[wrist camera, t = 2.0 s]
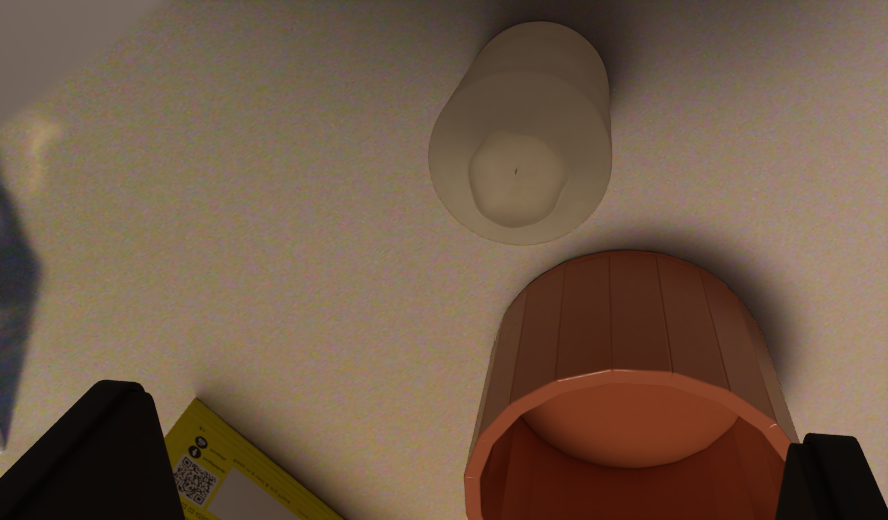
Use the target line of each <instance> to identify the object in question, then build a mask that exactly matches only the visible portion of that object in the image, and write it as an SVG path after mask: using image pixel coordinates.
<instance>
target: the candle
mask: <svg viewBox="0 0 888 520" xmlns="http://www.w3.org/2000/svg"><path fill="white" fill-rule="evenodd" d="M428 158H429V169H430V174H431V179H432V182H433V185H434V187H435V190H436V192H437V194H438V196H439V198H440V200H441V201H442V203H443V204H444V206H445V207H446V209H447V210H448V211H449V212H450V213H451V214H452V216H453V217H454V218H455V219H456V220H458V221H459V222H460V223H461V224H462V225H463V226H465V227H466V228H468V229H469V230H471V231H472V232H474V233H476V234H478V235H480V236H482V237H484V238H487V239H489V240H492V241H495V242H499V243H503V244H510V245H533V244H540V243H544V242H549V241H552V240H554V239H557V238H560V237H562V236H564V235H566V234H568V233H570V232H571V231H573V230H574V229H576V228H577V227H579V226H580V225H581V224H582V223H583V222H584V221H585V220H587V219H588V217H589V216H590V215H591V214H592V213H593V212H594V211H595V209H596V208H597V206H598V205H599V203H600V202H601V200H602V198H603V196H604V194H605V192H606V189H607V186H608V183H609V180H610V175H611V169H612V142H611V119H610V97H609V85H608V77H607V73H606V69H605V67H604V64H603V62H602V60H601V58H600V56H599V54H598V52H597V51H596V50H595V48H594V47H593V46H592V45H591V44H590V43H589V42H588V41H587V40H586V39H585V38H584V37H583V36H581V35H580V34H579V33H577V32H576V31H574V30H572V29H570V28H568V27H566V26H563V25H561V24H557V23H552V22H544V21H536V22H527V23H522V24H519V25H515V26H513V27H511V28H508V29H506V30H504V31H503V32H501V33H500V34H498V35H497V36H495V37H494V38H493V39H492V40H491V41H490V42H489V43H488V44H487V45H486V46H485V47H484V48H483V50H482V51H481V52H480V54H479V55H478V56H477V58H476V59H475V61H474V62H473V64H472V65H471V67H470V68H469V70H468V72H467V73H466V75H465V76H464V78H463V79H462V81H461V82H460V84H459V85H458V87H457V88H456V90H455V92H454V93H453V95H452V96H451V98H450V99H449V101H448V102H447V104H446V105H445V107H444V108H443V110H442V112H441V113H440V115H439V117H438V119H437V121H436V123H435V125H434V128H433V131H432V134H431V139H430V144H429V155H428Z"/></svg>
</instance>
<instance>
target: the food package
mask: <svg viewBox="0 0 888 520" xmlns="http://www.w3.org/2000/svg"><path fill="white" fill-rule="evenodd" d="M164 441H165V444H166V448H167V452H168V455H169V459H170V463H171V467H172V470H173V474H174V478H175V482H176V485H177V489H178V493H179V496H180V500H181V504H182V508H183V511H184V515H185V520H344V519H343V518H342V517H340V516H339V515H338V514H337V513H335V512H334V511H333V510H332V509H330V508H329V507H328V506H327V505H326V504H324V503H323V502H322V501H321V500H319V499H318V498H317V497H316V496H314V495H313V494H312V493H311V492H310V491H308V490H307V489H306V488H305V487H303V486H302V485H301V484H300V483H299V482H297V481H296V480H295V479H294V478H292V477H291V476H290V475H289V474H288V473H286V472H285V471H284V470H283V469H281V468H280V467H279V466H278V465H277V464H275V463H274V462H273V461H272V460H270V459H269V458H268V457H267V456H265V455H264V454H263V453H262V452H261V451H259V450H258V449H257V448H256V447H254V446H253V445H252V444H251V443H250V442H248V441H247V440H246V439H245V438H243V437H242V436H241V435H240V434H238V433H237V432H236V431H235V430H234V429H232V428H231V427H230V426H229V425H227V424H226V423H225V422H224V421H223V420H221V419H220V418H219V417H218V416H217V415H216V414H215V413H213V412H212V411H211V410H210V409H209V408H207V407H206V406H205V405H204V404H203V403H201V402H200V401H198V400H197V399H196V398H195V399H194V400H193V401H192V402H191V404H190V405H189V406H188V407H187V409H186V410H185V411H184V413H183V414H182V415H181V417H180V418H179V419H178V421H177V422H176V423H175V425H174V426H173V427H172V429H171V430H170V431H169V433H168V434H167V435H166V437H165V438H164Z"/></svg>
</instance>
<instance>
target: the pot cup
mask: <svg viewBox="0 0 888 520" xmlns="http://www.w3.org/2000/svg"><path fill="white" fill-rule="evenodd" d="M790 443H800V442H799V439H798V436H797V433H796V430H795V427H794V425H793V422H792V419H791V416H790V413H789V410H788V407H787V404H786V402H785V399H784V396H783V393H782V390H781V387H780V384H779V382H778V379H777V376H776V373H775V370H774V367H773V364H772V361H771V359H770V356H769V353H768V350H767V347H766V344H765V341H764V338H763V336H762V333H761V330H760V328H759V326H758V325H757V324H756V322H755V320H754V318H753V316H752V314H751V313H750V311H749V310H748V308H747V307H746V305H745V304H744V303H743V301H742V300H741V299H740V298H739V297H738V296H737V295H736V294H735V292H734V291H733V290H731V289H730V288H729V287H728V286H727V285H726V284H724V283H723V282H722V281H721V280H720V279H718V278H717V277H715V276H713V275H712V274H710V273H709V272H707V271H706V270H704V269H702V268H700V267H698V266H695V265H693V264H691V263H689V262H687V261H684V260H681V259H678V258H675V257H672V256H668V255H663V254H658V253H653V252H645V251H634V250H626V251H608V252H601V253H595V254H591V255H587V256H583V257H579V258H576V259H573V260H571V261H568V262H566V263H563V264H561V265H559V266H557V267H555V268H553V269H551V270H550V271H548V272H546V273H544V274H543V275H541V276H540V277H539V278H537V279H536V280H535V281H533V282H532V283H531V284H530V285H529V286H528V287H526V288H525V289H524V290H523V291H522V292H521V293H520V294H519V295H518V297H517V298H516V299H515V301H514V302H513V303H512V304H511V306H510V307H509V309H508V311H507V312H506V314H505V316H504V318H503V319H502V322H501V324H500V327H499V330H498V332H497V336H496V340H495V342H494V345H493V348H492V352H491V356H490V361H489V365H488V370H487V374H486V379H485V383H484V388H483V392H482V397H481V401H480V406H479V410H478V415H477V419H476V424H475V428H474V433H473V437H472V442H471V446H470V451H469V455H468V460H467V464H466V468H465V473H464V486H465V505H466V514H467V517H468V519H469V520H775V515H776V510H777V505H778V499H779V494H780V488H781V483H782V478H783V472H784V467H785V461H786V456H787V451H788V447H789V445H790Z"/></svg>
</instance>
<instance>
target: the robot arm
mask: <svg viewBox="0 0 888 520" xmlns="http://www.w3.org/2000/svg"><path fill="white" fill-rule="evenodd" d="M0 520H185V515H184V511H183V508H182V504H181V500H180V496H179V493H178V489H177V485H176V482H175V478H174V474H173V470H172V467H171V463H170V459H169V455H168V452H167V448H166V444H165V441H164V437H163V433H162V429H161V426H160V422H159V418H158V414H157V411H156V407H155V403H154V400H153V398H152V396H151V395H150V394H149V393H147V392H145V390H144V388H143V387H142V386H141V385H140V383H136V382H128V381H115V380H101V381H99V382H97V383H96V384H94V385H93V386H92V387H91V388H90V389H89V390H88V391H87V392H86V393H85V394H84V395H83V396H82V397H81V398H80V399H79V400H78V401H77V402H76V403H75V404H74V405H73V406H72V407H71V408H70V409H69V410H68V411H67V412H66V413H65V414H64V415H63V416H62V417H61V418H60V419H59V420H58V421H57V422H56V423H55V424H54V425H53V426H52V427H51V428H50V429H49V430H48V431H47V432H46V433H45V434H44V435H43V436H42V437H41V438H40V439H39V440H38V441H37V442H36V443H35V444H34V445H33V446H32V447H31V448H30V449H29V450H28V451H27V452H26V453H25V454H24V455H23V456H22V457H21V458H20V459H19V460H18V461H17V462H16V463H15V464H14V465H13V466H12V467H11V468H10V469H9V470H8V471H7V472H6V473H5V474H4V475H3V476H2V477H1V478H0ZM775 520H888V508H887V506H886V504H885V501H884V499H883V497H882V494H881V492H880V490H879V488H878V485H877V483H876V481H875V479H874V476H873V474H872V472H871V469H870V467H869V465H868V463H867V460H866V458H865V456H864V453H863V451H862V449H861V447H860V444H859V442H858V441H857V439H856V438H855V437H853V436H842V435H829V434H816V433H808V434H806V436H805V438H804V440H803V444H802V443H790V445H789V447H788V451H787V456H786V461H785V467H784V472H783V478H782V483H781V488H780V494H779V499H778V505H777V510H776V515H775Z"/></svg>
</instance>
